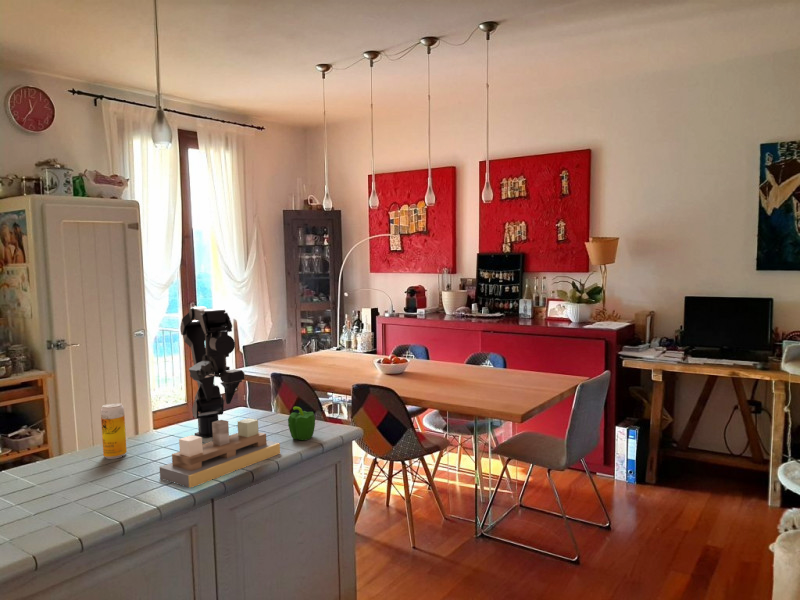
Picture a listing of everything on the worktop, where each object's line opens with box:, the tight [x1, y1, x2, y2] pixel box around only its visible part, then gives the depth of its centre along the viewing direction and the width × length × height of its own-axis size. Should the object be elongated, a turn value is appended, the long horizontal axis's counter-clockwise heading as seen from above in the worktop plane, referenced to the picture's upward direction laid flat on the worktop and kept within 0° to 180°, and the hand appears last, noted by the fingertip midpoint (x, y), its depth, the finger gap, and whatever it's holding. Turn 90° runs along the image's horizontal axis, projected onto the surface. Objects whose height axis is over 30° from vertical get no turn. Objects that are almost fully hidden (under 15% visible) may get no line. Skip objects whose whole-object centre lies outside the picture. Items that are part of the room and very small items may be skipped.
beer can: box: [100, 402, 128, 460], centre depth 174 cm, size 6×6×15 cm
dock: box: [159, 439, 281, 489], centre depth 163 cm, size 13×30×3 cm, turn 145°
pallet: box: [171, 419, 267, 471], centre depth 163 cm, size 8×25×9 cm, turn 145°
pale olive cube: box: [237, 417, 259, 437], centre depth 171 cm, size 4×4×4 cm
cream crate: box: [178, 434, 203, 457], centre depth 155 cm, size 4×4×4 cm
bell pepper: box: [287, 406, 316, 441], centre depth 186 cm, size 8×8×10 cm
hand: (218, 402), depth 182 cm, fingers open, 9 cm apart
